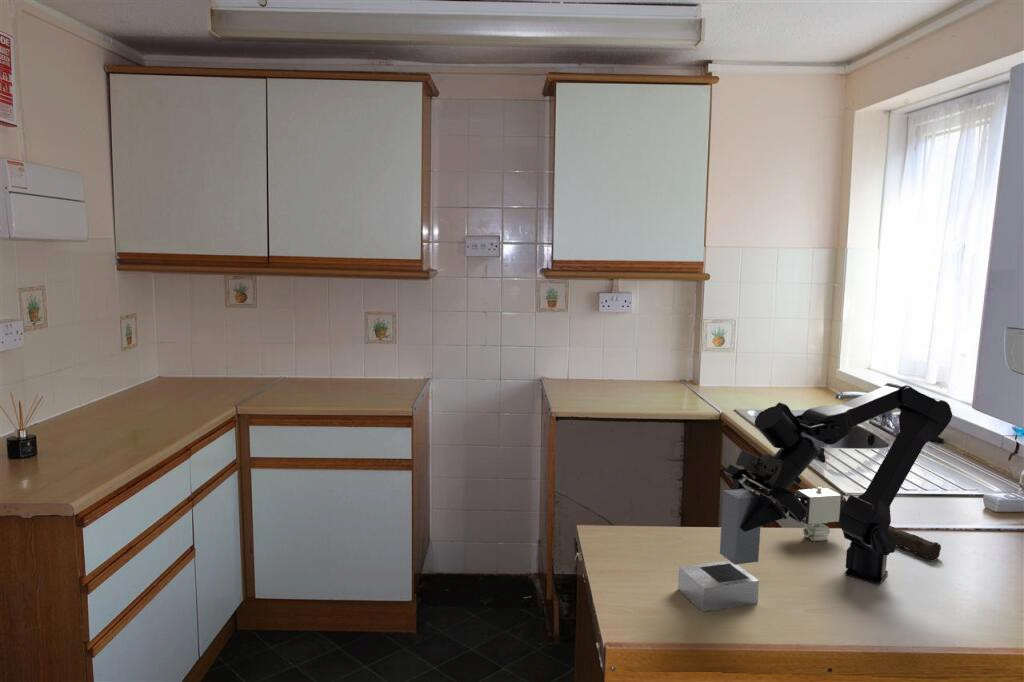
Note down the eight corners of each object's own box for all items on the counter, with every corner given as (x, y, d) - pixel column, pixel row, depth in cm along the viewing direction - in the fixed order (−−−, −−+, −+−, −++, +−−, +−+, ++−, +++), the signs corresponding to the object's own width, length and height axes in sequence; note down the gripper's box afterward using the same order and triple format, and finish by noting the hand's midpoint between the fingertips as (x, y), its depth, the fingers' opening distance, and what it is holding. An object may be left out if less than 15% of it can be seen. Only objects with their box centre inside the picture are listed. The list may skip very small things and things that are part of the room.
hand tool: (941, 560, 152) (943, 539, 151) (928, 563, 150) (930, 542, 150) (865, 528, 169) (867, 509, 168) (853, 530, 167) (855, 511, 167)
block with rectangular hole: (730, 581, 140) (731, 560, 140) (757, 603, 132) (758, 580, 131) (678, 589, 137) (679, 566, 136) (702, 611, 129) (703, 588, 128)
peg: (742, 550, 138) (746, 488, 136) (758, 561, 133) (762, 497, 131) (719, 553, 136) (723, 490, 135) (734, 564, 132) (738, 499, 130)
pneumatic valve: (845, 541, 161) (849, 489, 159) (798, 544, 158) (802, 492, 157) (830, 531, 166) (833, 481, 164) (784, 534, 164) (787, 484, 162)
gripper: (735, 423, 142) (683, 481, 140) (797, 449, 124) (738, 516, 122) (767, 459, 145) (716, 516, 143) (832, 489, 127) (775, 555, 125)
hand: (734, 524), depth 133 cm, fingers closed on peg, 5 cm apart
